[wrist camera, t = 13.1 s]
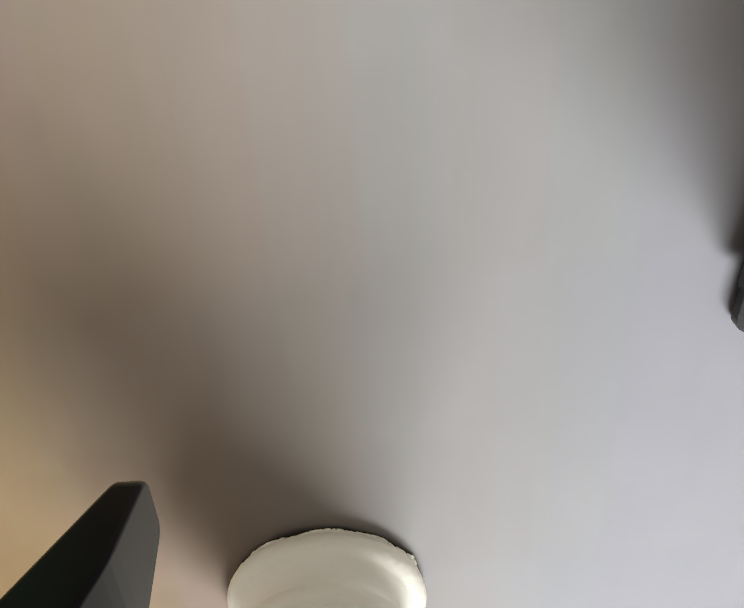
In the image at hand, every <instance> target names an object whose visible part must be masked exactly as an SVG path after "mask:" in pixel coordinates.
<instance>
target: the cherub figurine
mask: <svg viewBox="0 0 744 608" xmlns="http://www.w3.org/2000/svg"><path fill="white" fill-rule="evenodd" d="M284 538H285V537H283V538H280V539H278V540H273V541H271V542H267V543H265V544H264V545H263V546H260V547H259V548H258V549H256V551H255V550H254V551H252V553H251V555H250V556H249V557H248V558H247V559H246V560H245V561H244V562H243V563H241V564H240V566H239V568H238V569H237V571H236V572H235V574H234V576H233V578H232V579H231V581H230V585H229V588H228V593H227V603H228V608H425V607H426V598H427V594H426V587H425V584H424V581H423V578H422V575H421V573H420V571H419V570H418V568H417V563H416V561H415V559H414V558H415V557H414V556H413V555H410V554H409V553H407V554H406V553H405V551H404V550H401V549H400V548H398V546H396V547H394V545H393V544H392V543H390V542H389V543H388V541H387V540H385V539H384V538H381V537H379V536H376V535H370V534H365V533H360V532H353V531H349V530H345V531H344V530H343V529H335V528H333V529H332V530H331V529H330V528H326V529H320V530H318V529H315V530H314V531H313V530H311V531H309V532H308V533H307V532H305V534H304V533H303V534H299V535H296V536H291V537H289V538H286V539H284Z"/></svg>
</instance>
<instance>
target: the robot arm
mask: <svg viewBox="0 0 744 608" xmlns="http://www.w3.org/2000/svg"><path fill="white" fill-rule="evenodd" d="M738 285H739V289H738V292H737V296H736V299H735V303H734V306H733V309H732V313H731V320H732V321H733V323H734V324H735V325H736V327H737V328H738V329H739V330H741V331H743V332H744V263H743V267H742V270H741V274H740V277H739V280H738ZM159 536H160V527H159V520H158V517H157V513H156V510H155V506H154V503H153V500H152V496H151V493H150V489H149V487H148V485H147V484H146V483H145V482H142V481H130V482H117V483H115V484H113V485H111V486H110V487H109V488H108V489H107V490H106V491H105V492H104V493H103V494H102V495H101V496H100V497H99V498H98V499H97V500H96V501H95V502H94V503H93V505H92V506H91V507H90V508H89V509H88V510H87V511H86V512H85V513H84V514H83V515H82V516H81V517H80V518H79V519H78V520H77V521H76V522H75V523H74V524H73V525H72V526H71V527H70V528H69V529H68V530H67V531H66V532H65V533H64V534H63V535H62V536H61V537H60V538H59V539H58V540H57V541H56V542H55V544H54V545H53V546H52V547H51V548H50V549H49V550H48V551H47V552H46V553H45V554H44V555H43V556H42V557H41V558H40V559H39V560H38V561H37V562H36V563H35V564H34V565H33V566H32V567H31V568H30V569H29V570H28V571H27V572H26V573H25V574H24V575H23V576H22V577H21V578H20V579H19V580H18V581H17V583H16V584H15V585H14V586H13V587H12V588H11V589H10V590H9V591H8V592H7V593H6V594H5V595H4V596H3V597H2V598H1V599H0V608H149V604H150V597H151V591H152V584H153V578H154V571H155V564H156V558H157V551H158V544H159Z"/></svg>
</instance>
